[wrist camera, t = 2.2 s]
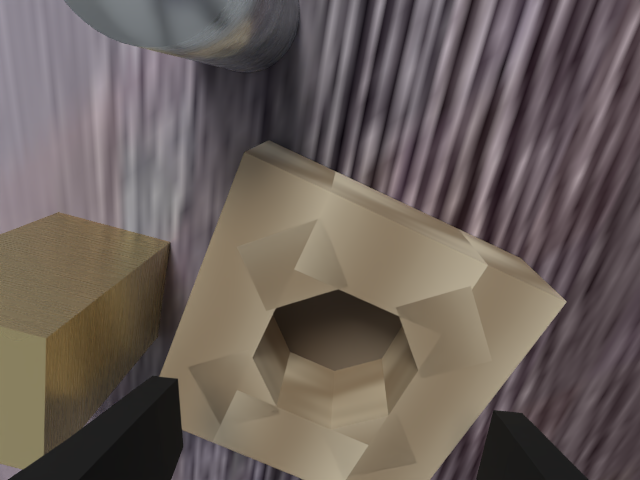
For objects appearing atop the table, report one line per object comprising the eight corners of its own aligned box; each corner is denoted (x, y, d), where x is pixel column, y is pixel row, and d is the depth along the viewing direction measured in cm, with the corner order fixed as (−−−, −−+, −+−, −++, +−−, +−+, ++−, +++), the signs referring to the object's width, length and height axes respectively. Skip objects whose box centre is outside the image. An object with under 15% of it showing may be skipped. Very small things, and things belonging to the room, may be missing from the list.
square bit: (170, 242, 14) (46, 338, 8) (157, 336, 15) (43, 474, 10) (58, 212, 14) (-143, 288, 8) (55, 309, 15) (-119, 432, 10)
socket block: (520, 258, 13) (566, 301, 10) (391, 445, 16) (399, 518, 13) (269, 140, 13) (244, 152, 10) (182, 357, 15) (144, 414, 13)
